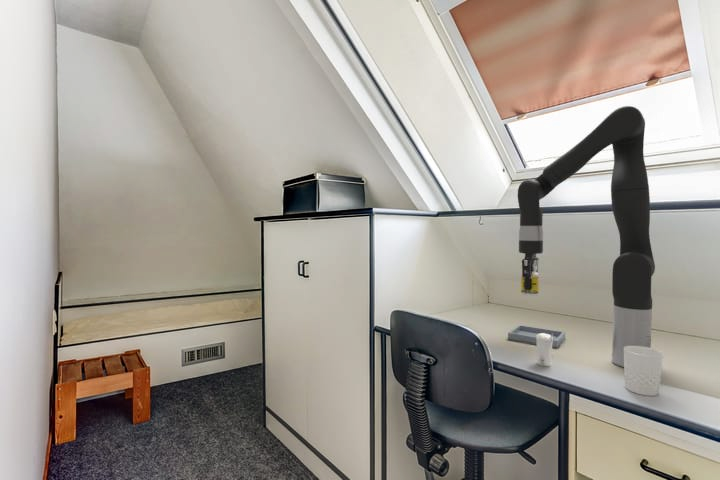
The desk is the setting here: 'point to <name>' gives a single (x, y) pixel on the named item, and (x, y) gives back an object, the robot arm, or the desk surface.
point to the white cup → (642, 370)
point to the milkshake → (544, 348)
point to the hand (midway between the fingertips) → (530, 288)
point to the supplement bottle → (534, 284)
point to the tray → (529, 335)
